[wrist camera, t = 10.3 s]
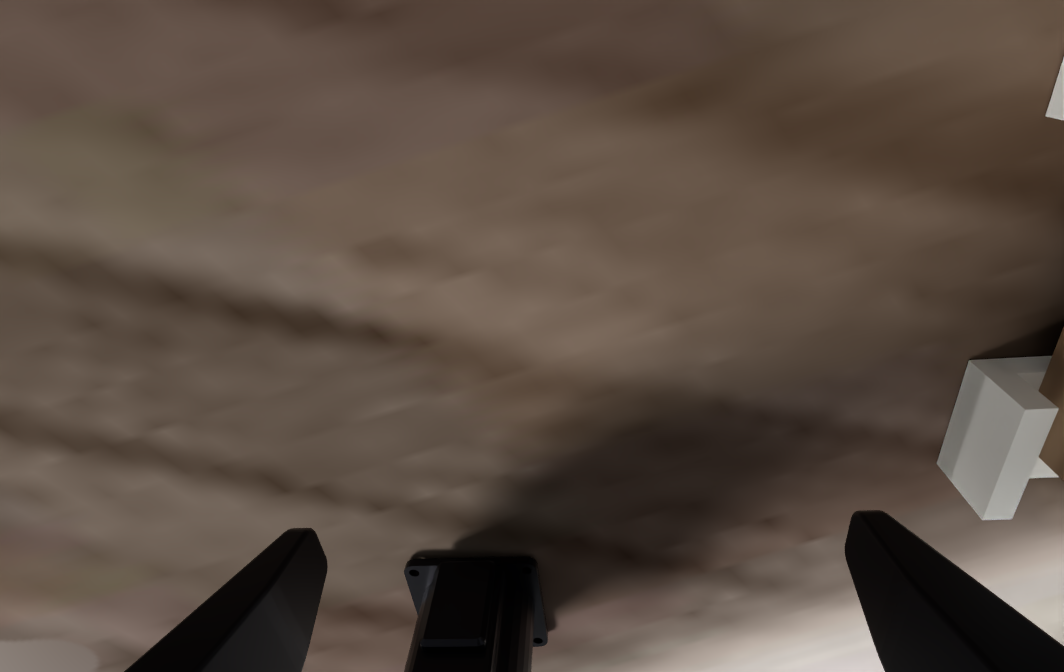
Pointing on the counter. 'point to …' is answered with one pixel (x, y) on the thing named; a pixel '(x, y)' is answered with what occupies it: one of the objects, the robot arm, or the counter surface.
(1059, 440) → the rail
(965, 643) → the robot arm
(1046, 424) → the rail brackets
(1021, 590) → the counter surface
